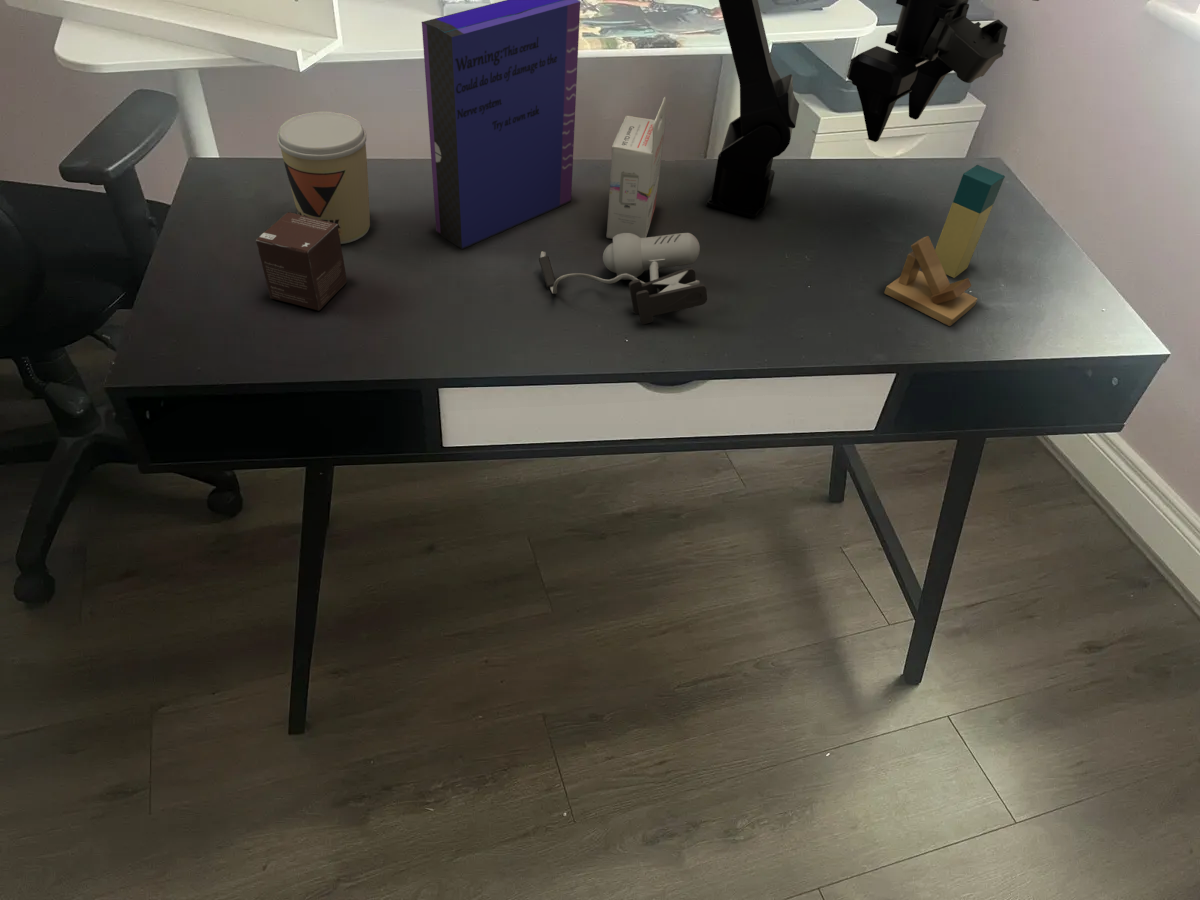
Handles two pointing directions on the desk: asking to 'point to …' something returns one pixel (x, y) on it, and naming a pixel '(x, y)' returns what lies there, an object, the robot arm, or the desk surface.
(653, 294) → the clip-on lamp
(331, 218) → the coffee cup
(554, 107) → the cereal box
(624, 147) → the ink cartridge box
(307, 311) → the desk surface
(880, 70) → the robot arm
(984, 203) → the two-tone square bar
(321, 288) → the box
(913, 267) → the tan wooden stand
